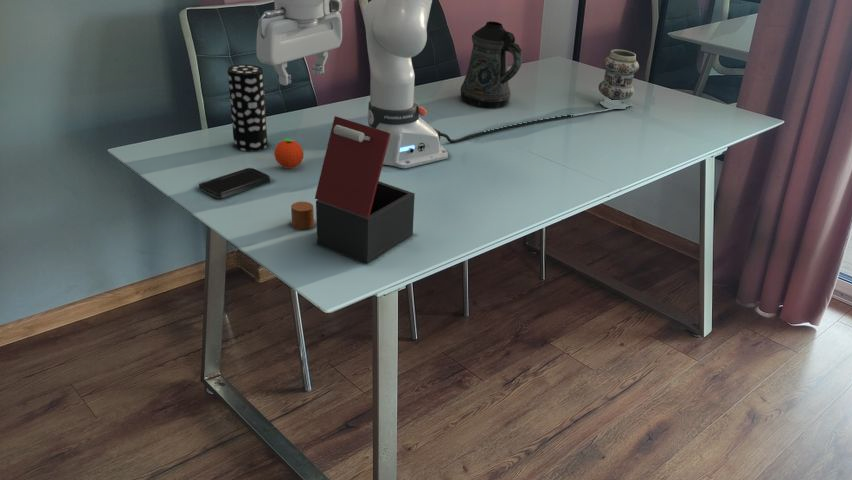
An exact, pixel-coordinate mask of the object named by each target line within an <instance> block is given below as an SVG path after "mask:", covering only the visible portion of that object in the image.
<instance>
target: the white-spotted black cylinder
mask: <svg viewBox="0 0 852 480" xmlns="http://www.w3.org/2000/svg"><path fill="white" fill-rule="evenodd" d="M227 78H228V91H229V102H230V113H231V115H230V116H231V126H232V136H233V147H234V148H235V149H236V150H239V151H243V152H258V151H259V152H260V151H262V150H264V149H266V148H268V132H267V131H268V129H267V120H266V119H267V115H266V101H265V83H264V69H263V67H261V66H259V65H255V64H246V63H245V64H244V63H243V64H234V65H229V66H228V67H227Z"/></svg>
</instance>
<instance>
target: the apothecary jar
mask: <svg viewBox="0 0 852 480" xmlns="http://www.w3.org/2000/svg"><path fill="white" fill-rule="evenodd" d="M602 64H603V66H604V68H605V73H604V77H603V80H602V81H601V82H600V83H599V84H598V91H599V93H600V94H601V95H602V96H604V97H606V98H607V99H608V98H609V99H611V100H620V101H623V100H627V99H630V98H632V96H634V94H635V89H634V87H633V81H634V76H635V73H637V72H638V70H639V69H640V64H639V62H638V61H637V54H636V53H635V52H632V51H629V50H625V49H619V48H617V49H612V50H610V53H609V55H608V56H606V57H605V59H604V60H603V63H602Z"/></svg>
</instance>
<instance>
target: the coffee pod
mask: <svg viewBox="0 0 852 480" xmlns="http://www.w3.org/2000/svg"><path fill="white" fill-rule="evenodd" d="M290 215H291V227H292V228H294V229H296V230H301V231H302V230H310V229H312V228H313V227H314V223H315V218H314V215H315V214H314V205H313V203H311V202H308V201H296V202H293V203H292V204H291V205H290Z"/></svg>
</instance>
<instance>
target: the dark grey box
mask: <svg viewBox="0 0 852 480" xmlns="http://www.w3.org/2000/svg"><path fill="white" fill-rule="evenodd" d="M415 194H416V193H415V192H412V191H409V190H406V189H403V188H400V187H397V186H394V185H391V184H388V183H385V182H382V181H380V180H379V181H378V185H377V189H376V193H375V197H374V201H373V204H372V208H371V212H370V216H369V218H367V217H364V216H361V215H358V214H356V213H353V212H350V211H347V210H345V209H342V208H339V207H336V206H334V205H331V204H328V203H325V202H323V201H320V200H317V199H316V200H315V215H316V216H315V218H316V219H315V220H316V245H318V246H320V247H323V248H325V249H328V250H331V251H333V252H336V253H338V254H341V255H343V256H346V257H349V258H350V259H353V260H355V261H359V262H361V263H364V264H367V265H368V264H370V263H372V262H373V261H375V260H376V259H378V258H379V257H381V256H383V255H384V254H385V253H388V252H389V251H391V250H392V249H393V248H395V247H396V246H398V245H399V244H401V243H403V242H405V241H406V240H407V239H409V238H411V237H412V236H413V235H414V216H415Z"/></svg>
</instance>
